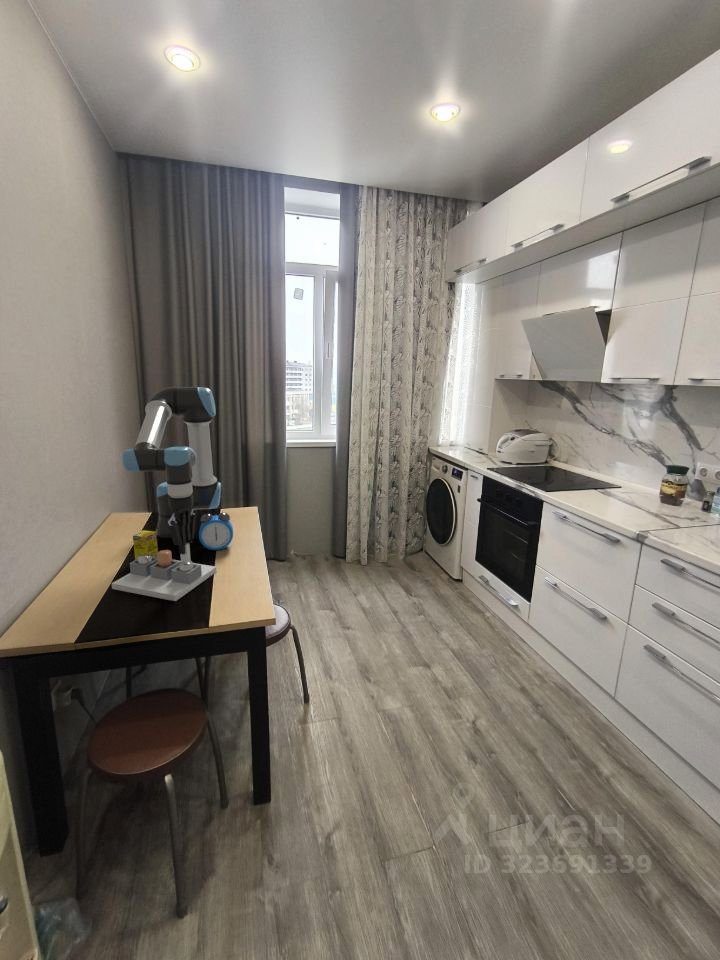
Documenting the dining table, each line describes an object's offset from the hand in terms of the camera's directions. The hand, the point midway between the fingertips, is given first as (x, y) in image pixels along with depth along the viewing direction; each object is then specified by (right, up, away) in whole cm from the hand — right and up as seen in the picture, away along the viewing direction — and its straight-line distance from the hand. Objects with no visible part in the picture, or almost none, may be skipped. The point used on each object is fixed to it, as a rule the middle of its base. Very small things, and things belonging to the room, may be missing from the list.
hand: (185, 561), depth 148 cm
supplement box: (-22, -3, +19) cm, 30 cm away
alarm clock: (0, -1, +32) cm, 32 cm away
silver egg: (0, -5, +1) cm, 6 cm away
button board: (-8, -7, +4) cm, 12 cm away
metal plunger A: (-16, -4, +6) cm, 18 cm away
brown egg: (-8, -2, +3) cm, 9 cm away
